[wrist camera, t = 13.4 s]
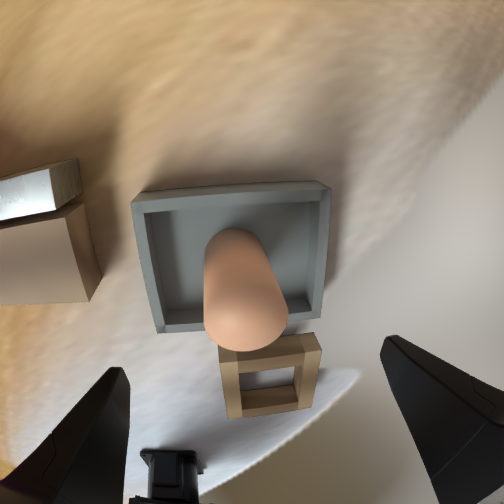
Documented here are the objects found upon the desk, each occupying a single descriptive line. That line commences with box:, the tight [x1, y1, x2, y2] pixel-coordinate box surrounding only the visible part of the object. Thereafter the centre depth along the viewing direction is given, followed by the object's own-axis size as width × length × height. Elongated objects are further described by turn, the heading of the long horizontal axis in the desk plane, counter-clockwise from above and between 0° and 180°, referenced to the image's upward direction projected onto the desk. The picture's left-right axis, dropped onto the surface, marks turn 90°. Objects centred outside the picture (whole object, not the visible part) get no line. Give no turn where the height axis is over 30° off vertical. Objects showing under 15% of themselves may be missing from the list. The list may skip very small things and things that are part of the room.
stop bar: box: [0, 158, 83, 220], centre depth 12 cm, size 2×7×4 cm, turn 91°
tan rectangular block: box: [0, 203, 102, 305], centre depth 15 cm, size 5×8×3 cm, turn 92°
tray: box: [130, 181, 331, 333], centre depth 17 cm, size 8×10×2 cm
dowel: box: [204, 228, 289, 351], centre depth 14 cm, size 3×3×6 cm
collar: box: [218, 332, 322, 419], centre depth 21 cm, size 7×7×2 cm
